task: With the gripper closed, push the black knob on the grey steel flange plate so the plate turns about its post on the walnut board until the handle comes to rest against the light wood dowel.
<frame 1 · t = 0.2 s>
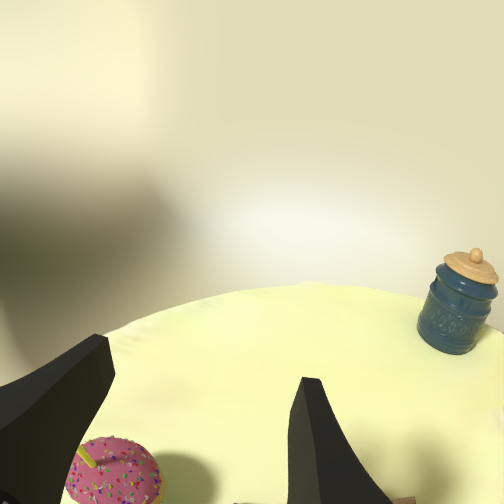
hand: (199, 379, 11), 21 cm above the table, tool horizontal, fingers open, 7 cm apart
cupcake: (124, 497, 21), on the table
canister: (444, 336, 50), on the table
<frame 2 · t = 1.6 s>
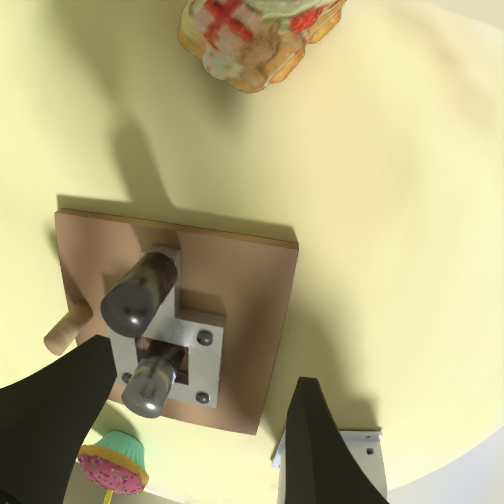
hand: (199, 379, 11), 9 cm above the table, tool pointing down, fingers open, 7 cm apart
cupcake: (125, 440, 31), on the table
flange: (151, 354, 18), point 4 cm above the table, hinge at 0.0°
board: (165, 338, 22), on the table
dowel: (91, 303, 22), resting on board
post: (172, 339, 22), resting on board
topped waffle: (265, 26, 14), on the table
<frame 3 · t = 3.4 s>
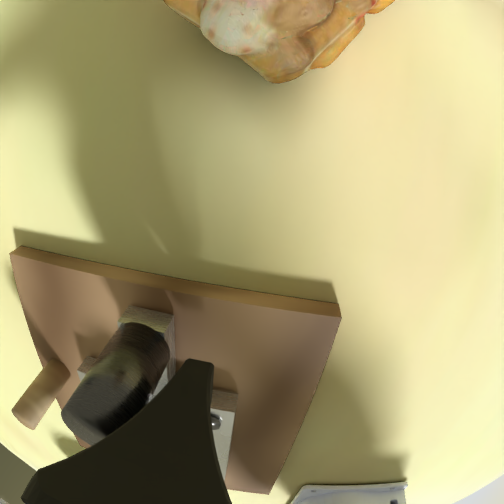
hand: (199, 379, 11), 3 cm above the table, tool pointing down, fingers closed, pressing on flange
flange: (142, 441, 12), point 4 cm above the table, hinge at 0.0°, touching gripper
board: (160, 404, 17), on the table
dowel: (67, 358, 16), resting on board
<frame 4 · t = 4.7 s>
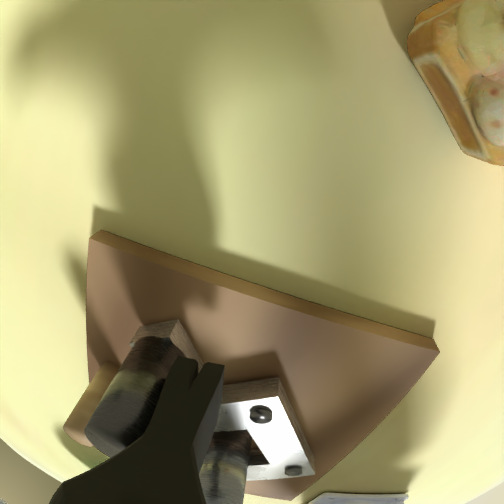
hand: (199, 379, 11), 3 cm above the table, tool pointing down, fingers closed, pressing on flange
flange: (202, 456, 12), point 4 cm above the table, hinge at 37.0°, touching gripper
board: (223, 415, 16), on the table
dowel: (122, 361, 16), resting on board
post: (232, 417, 16), resting on board
topped waffle: (480, 65, 8), on the table
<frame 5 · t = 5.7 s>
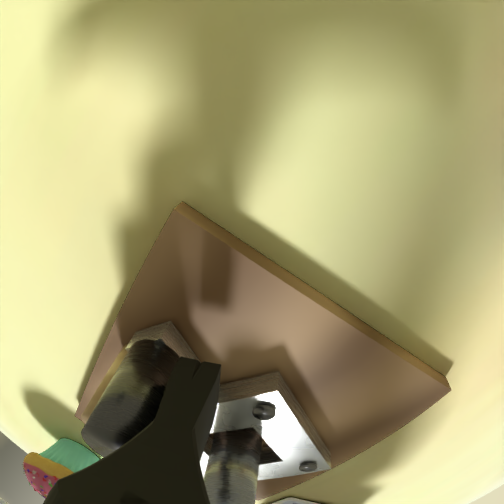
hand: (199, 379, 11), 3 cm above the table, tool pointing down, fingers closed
cupcake: (80, 449, 23), on the table
flange: (209, 457, 12), point 4 cm above the table, hinge at 59.8°, touching gripper
board: (234, 413, 16), on the table
dowel: (145, 342, 15), resting on board
post: (241, 416, 16), resting on board
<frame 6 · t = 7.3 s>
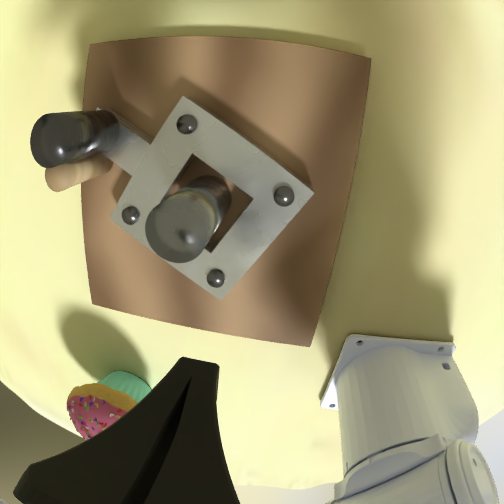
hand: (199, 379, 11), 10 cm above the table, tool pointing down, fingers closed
cupcake: (130, 386, 26), on the table
flange: (156, 188, 14), point 4 cm above the table, hinge at 60.1°
board: (203, 193, 18), on the table
dowel: (110, 158, 18), resting on board
post: (212, 194, 18), resting on board
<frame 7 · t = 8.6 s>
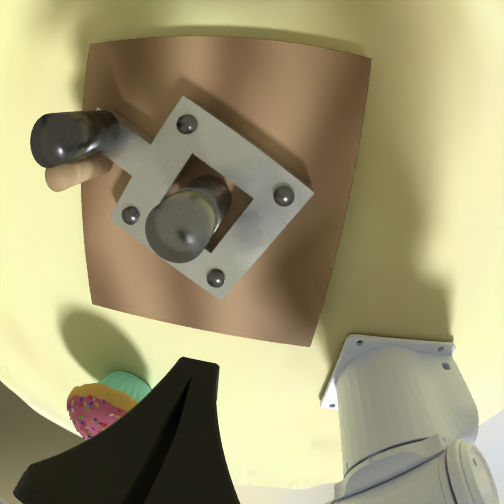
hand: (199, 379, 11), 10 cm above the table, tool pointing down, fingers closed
cupcake: (130, 386, 26), on the table
flange: (156, 188, 14), point 4 cm above the table, hinge at 60.1°
board: (203, 193, 18), on the table
dowel: (110, 158, 18), resting on board
post: (212, 194, 18), resting on board
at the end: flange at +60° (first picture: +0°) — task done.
